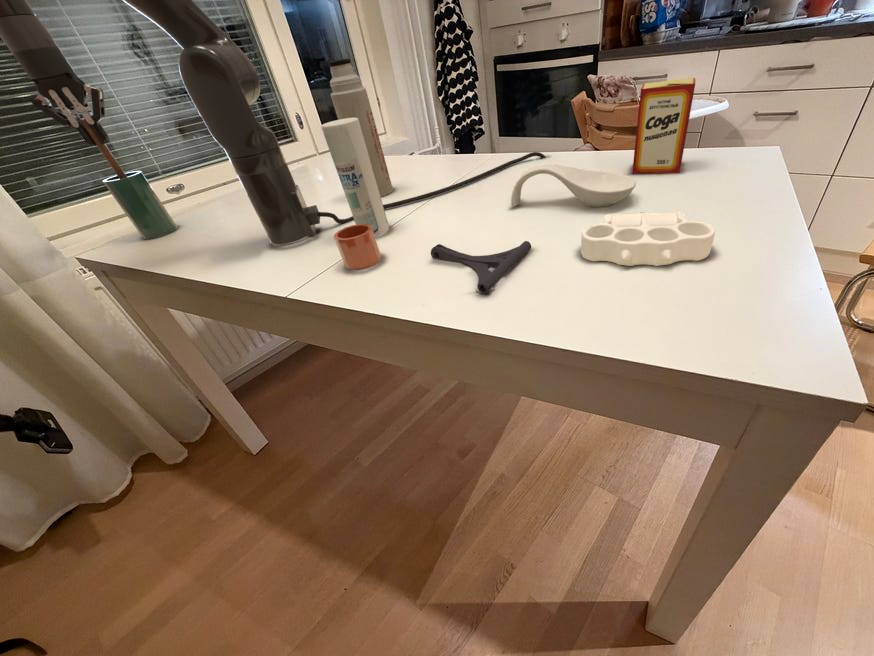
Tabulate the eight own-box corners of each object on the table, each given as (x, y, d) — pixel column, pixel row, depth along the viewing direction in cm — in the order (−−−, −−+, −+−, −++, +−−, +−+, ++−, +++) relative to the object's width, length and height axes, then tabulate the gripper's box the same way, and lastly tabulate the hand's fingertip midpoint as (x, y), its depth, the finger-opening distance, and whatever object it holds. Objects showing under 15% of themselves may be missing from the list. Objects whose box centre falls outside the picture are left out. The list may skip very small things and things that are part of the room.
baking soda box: (632, 174, 86) (641, 86, 76) (635, 165, 91) (644, 81, 81) (679, 172, 83) (695, 81, 73) (680, 163, 87) (695, 75, 77)
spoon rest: (634, 189, 79) (638, 150, 75) (634, 212, 71) (639, 169, 66) (518, 195, 86) (516, 159, 82) (506, 216, 78) (503, 178, 73)
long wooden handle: (163, 213, 102) (98, 115, 88) (157, 218, 99) (88, 118, 85) (145, 217, 102) (77, 119, 87) (138, 222, 98) (66, 122, 84)
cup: (181, 224, 106) (146, 168, 97) (172, 234, 100) (133, 176, 91) (150, 231, 105) (111, 176, 96) (138, 241, 99) (96, 184, 90)
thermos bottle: (397, 186, 104) (363, 55, 87) (386, 197, 99) (346, 58, 81) (370, 189, 106) (331, 60, 88) (357, 199, 101) (313, 64, 83)
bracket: (457, 242, 72) (454, 227, 70) (531, 250, 65) (530, 234, 63) (408, 280, 63) (404, 264, 61) (488, 295, 56) (485, 278, 54)
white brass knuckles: (700, 226, 63) (716, 270, 52) (584, 229, 68) (578, 270, 58) (705, 205, 61) (723, 247, 50) (585, 210, 66) (578, 249, 55)
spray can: (352, 238, 80) (312, 127, 67) (372, 225, 84) (337, 118, 72) (378, 240, 77) (341, 125, 65) (396, 227, 82) (365, 116, 69)
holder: (380, 252, 73) (370, 220, 69) (383, 266, 68) (373, 233, 64) (346, 261, 72) (334, 229, 68) (347, 276, 67) (333, 243, 63)
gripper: (80, 42, 82) (138, 135, 93) (8, 54, 80) (76, 147, 91) (61, 41, 76) (126, 140, 87) (-17, 54, 75) (59, 154, 86)
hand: (100, 143), depth 89 cm, fingers closed on long wooden handle, 1 cm apart
